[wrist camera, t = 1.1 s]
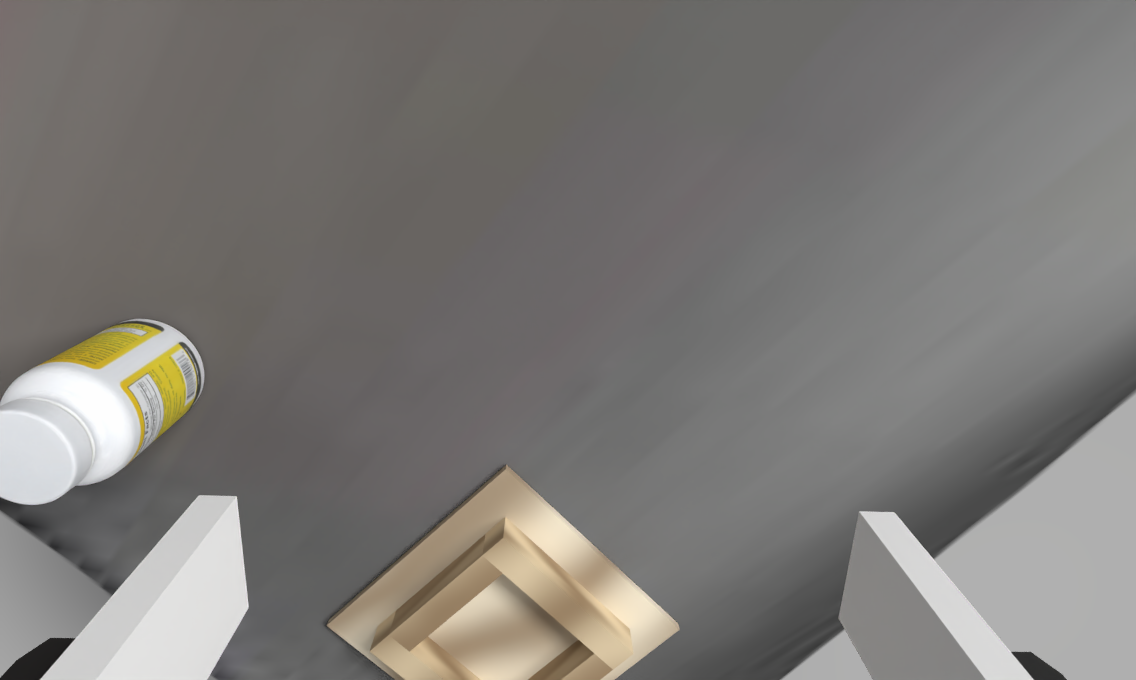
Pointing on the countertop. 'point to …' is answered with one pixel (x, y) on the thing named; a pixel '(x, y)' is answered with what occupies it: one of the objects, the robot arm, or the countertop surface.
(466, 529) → the beige square tray
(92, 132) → the countertop surface
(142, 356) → the supplement bottle
